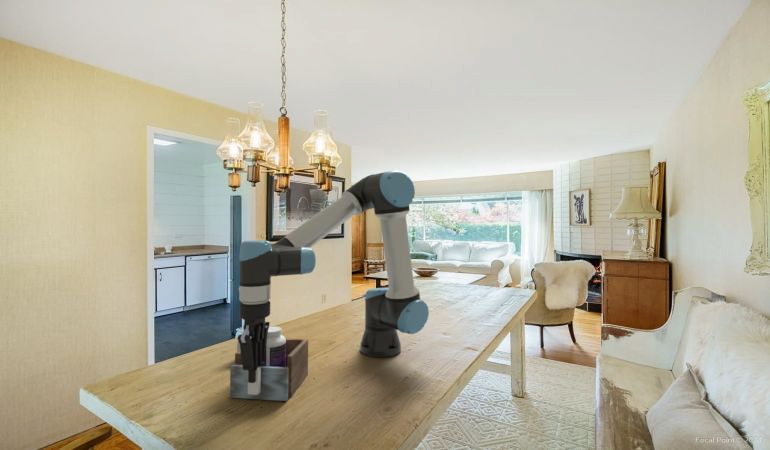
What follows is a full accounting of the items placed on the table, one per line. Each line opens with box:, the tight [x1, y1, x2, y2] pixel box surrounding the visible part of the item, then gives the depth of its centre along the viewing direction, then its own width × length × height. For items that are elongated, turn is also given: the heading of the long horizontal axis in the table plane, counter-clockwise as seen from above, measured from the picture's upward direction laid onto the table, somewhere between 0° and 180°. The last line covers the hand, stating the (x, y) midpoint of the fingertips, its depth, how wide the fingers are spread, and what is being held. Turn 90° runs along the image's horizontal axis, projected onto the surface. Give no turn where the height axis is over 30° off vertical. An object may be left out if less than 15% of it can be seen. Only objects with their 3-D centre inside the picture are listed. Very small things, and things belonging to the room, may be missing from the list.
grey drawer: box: [229, 363, 289, 402], centre depth 98 cm, size 16×15×8 cm
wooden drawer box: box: [234, 337, 309, 398], centre depth 101 cm, size 16×14×11 cm
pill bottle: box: [262, 326, 286, 367], centre depth 100 cm, size 8×8×14 cm
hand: (254, 392), depth 89 cm, fingers closed
